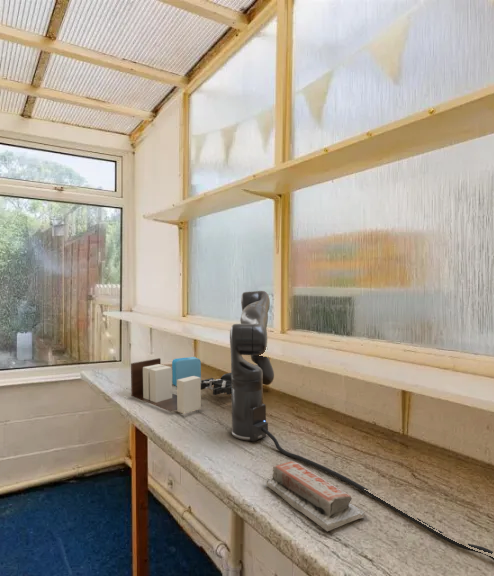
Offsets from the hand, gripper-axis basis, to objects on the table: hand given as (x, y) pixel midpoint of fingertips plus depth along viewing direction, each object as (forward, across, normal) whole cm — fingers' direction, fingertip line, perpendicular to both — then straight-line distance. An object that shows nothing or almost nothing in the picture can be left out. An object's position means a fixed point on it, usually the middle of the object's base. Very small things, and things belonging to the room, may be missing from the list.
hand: (205, 389), depth 140 cm
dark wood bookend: (+7, -16, +6) cm, 18 cm away
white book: (+8, -20, +6) cm, 23 cm away
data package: (-14, -26, +7) cm, 30 cm away
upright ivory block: (+8, 0, +6) cm, 10 cm away
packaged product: (+25, +57, +7) cm, 63 cm away
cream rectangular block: (+8, -16, +6) cm, 19 cm away
